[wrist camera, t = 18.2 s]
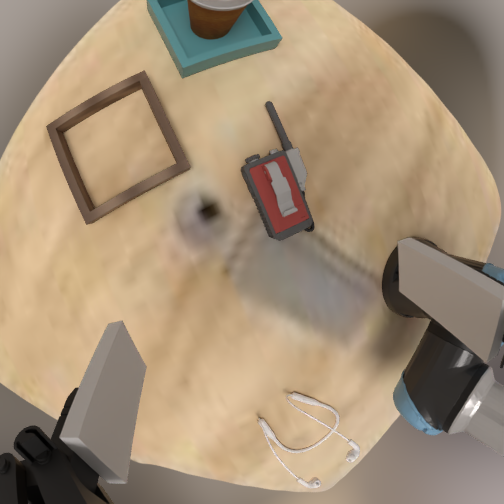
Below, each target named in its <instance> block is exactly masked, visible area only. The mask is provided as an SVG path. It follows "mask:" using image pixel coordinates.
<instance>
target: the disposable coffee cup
mask: <svg viewBox="0 0 504 504" xmlns="http://www.w3.org/2000/svg"><path fill="white" fill-rule="evenodd" d="M252 1H253V0H187V2H188V11H189V18H190V27H191V30H192V31H193V33H194V34H195V35H197V36H198V37H201V38H204V39H211V40H213V39H218V38H221V37H224V36H225V35H227V33H228V32H229V31H230V29H231V28H232V26H233V25H234V23H235V22H236V21H237V19H238V18H239V16H240V15H241V13H242V12H243V11H244V9H245V8H246V6H247V5H248V4H250V3H251V2H252Z"/></svg>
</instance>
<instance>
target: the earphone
mask: <svg viewBox="0 0 504 504" xmlns="http://www.w3.org/2000/svg"><path fill="white" fill-rule="evenodd" d="M288 396H291V398H292V399H294V400H297V401H300V402H303V403H307V404H310V405H318V406H321V407H323V408H326V409H328V410H330V411H332V412H333V413H334V415H335V416H336V423H335V425H334V427H333V428H331V427H329V426H328V425H326V424H324V423H323V422H321V421H319V420H318V419H316V418H314V417H313V416H311V415H309V414H307V413H306V412H304V411H302V410H300V409H299V408H297V407H296V406H295V405H293V404H292V403H291V402H290V401H289V400H288V398H287V397H288ZM286 400H287V401H288V402H289V404H291V405H292V406H293V407H294V408H296V409H297V410H299V411H300V412H302V413H304V414H305V415H307V416H309V417H311V418H312V419H314V420H316V421H318V422H319V423H321V424H323V425H324V426H326V427H327V428H329V429H331V431H330V432H329V433H328V434H327V435H326V436H325V437H324V438H322V439H321V440H320V441H318V442H317V443H315V444H314V445H312V446H310V447H307V448H305V449H300V450H292V449H288V448H286V447H284V446H283V445H282V444H281V443H280V442H279V441H278V440H277V439H276V437H275V434H274V432H273V431H272V430H271V428H270V427H269V426H268V424H267V423H266V421H265V420H264V419H260V418H258V424H259V425H260V426H261V428H262V429H263V432H264V434H265V437H266V439H267V442H268V444H269V446H270V448H271V450H272V451H273V453H274V454H275V456H276V457H277V459H278V460H279V461H280V462H281V464H282V465H283V466H284V467H285V468H286V469H287V470H288V471H289V472H290V473H291V474H292V475H293V476H294V477H295V478H296V479H297V481H298V482H299V483H301V484H302V485H303V486H305V487H308V488H317V487H319V486H320V485H321V481H320V480H319V479H318V478H316V477H314V478H312V479H311V480H310V481H309V482H306V481H304V480H303V479H302V478H300V477H299V478H298V477H297V476H295V475H294V474H293V473H292V472H291V471H290V470H289V469H288V468H287V467H286V465H285V464H284V463H283V462H282V461H281V460H280V458H279V457H278V456H277V454H276V453H275V451H274V449H273V448H272V446H271V444H270V442H269V440H268V437H269V438H271V439H272V440H273V441H274V442H275V443H276V444H277V445H278V446H279V447H280V448H282V449H283V450H285V451H288V452H292V453H300V452H305V451H308V450H310V449H312V448H314V447H316V446H318V445H319V444H321V443H322V442H323V441H325V440H326V439H327V438H328V437H329V436H330V435H331V434H332V433H333V432H335V433H337V434H338V435H340V436H341V437H343V438H344V439H346V440H347V443H348V444H349V445H351V446H352V447H353V449H352V450H350V451H348V453H347V456H346V460H347V461H348V462H353V461H355V459H357V458H358V456H359V454H360V447H359V446H358V445H357V444H356V443H355V442H354V441H352V440H351V439H347V438H346V437H344V436H343V435H341V434H340V433H338V432H337V431H335V429H336V428H337V426H338V424H339V415H338V413H337V411H336V410H335V409H333V408H332V407H330V406H328V405H326V404H323V403H320V402H318V401H317V400H315V399H313V398H310V397H307V396H304V395H301V394H298V393H295V392H293V393H292V394H288V395H286ZM266 434H267V435H268V437H267V435H266Z"/></svg>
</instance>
